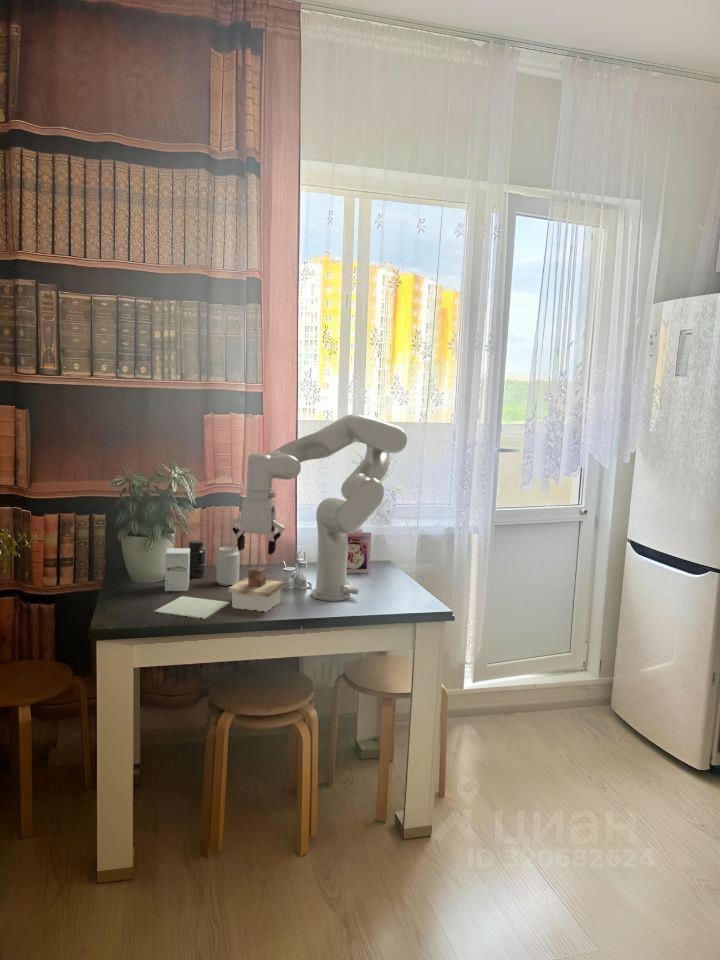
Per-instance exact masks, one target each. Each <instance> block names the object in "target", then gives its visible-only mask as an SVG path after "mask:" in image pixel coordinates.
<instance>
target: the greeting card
mask: <svg viewBox="0 0 720 960" xmlns="http://www.w3.org/2000/svg"><path fill="white" fill-rule="evenodd" d="M347 537H348V550H347V573H346V574H370V567H371V566H370V565H371V549H372V548H371V545H372V544H371V543H372V532H368V531H367V532H363V528H359V529H357V530H356V531H355V532H353V533H349V534H347Z"/></svg>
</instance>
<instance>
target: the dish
mask: <svg viewBox="0 0 720 960" xmlns="http://www.w3.org/2000/svg"><path fill="white" fill-rule="evenodd" d="M231 593H232V592H231ZM280 602H281V589H279V590H278V591H277V592H275V593H274V594H272V595H271V596H270V597H264V596H256V595H248V594H240V593H232V595H231V608H232V607H233V608H232V609H239V610H245V609H247V610H246V611H253V610H257V611H256V612H261V611H264V612H263V613H267V612H269V611H270V610H272V609H273V608H274V607H275V606H277V605H278V604H279V603H280ZM276 604H277V605H276ZM273 606H274V607H273ZM272 607H273V608H272ZM268 610H269V611H268Z"/></svg>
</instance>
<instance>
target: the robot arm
mask: <svg viewBox="0 0 720 960" xmlns="http://www.w3.org/2000/svg"><path fill="white" fill-rule="evenodd" d="M353 443H361V444H364V445H366V453H365V456H364V458H363V460H362V461H361V462H360V464H358V466H356V468H355V469H354V470H353V471H352V472H351V473H350V475H349V476H348V477H347V478H346V479H345V480H344V481H343V483H342V485H341V487H340V492H341V495H342V497H343V498H344V499H345V500H343V499H339V498H336V497H327V498H325V499H323V500H322V501H321V502H319V504H318V506H317V509H316V515H315V516H316V526H317V553H316V554H317V560H316V582H315V583H316V584H315V588H314V589H312V590H311V592H310V595H311V597H312V598H314V599H316V600H320V601H326V602H339V601H344V600H348V599H349V598H351V594H352V595H358V594H359V588H358V587H357V586H352V585H350V584H349V581H348V580H347V574H348V573H347V550H348V537H347V534H349V533H353V532H355V531H356V530H358V529H361V527H362V526H363V524H365V522H366V521H367V520H368V519H369V518H370V517H371V515H372V514H373V513H375V511H376V510H377V508H378V507H379V506H380V505H381V503H382V500H383V499H384V494H385V489H384V486H383V483H382V482H381V481H382V479H383V478H384V477H385V475H386V473H387V472H388V471H389V468H390V466H389V465H390V454H398V453H400V452H402V451H403V450H404V449H405V448H406V446H407V443H408V437H407V433H406V432H405V430H404V429H402V427H400V426H398V425H394V424H391V423H388V422H385V421H383V420H379V419H376V418H374V417H372V416H368V415H363V414H357V413H356V414H354V413H352V414H348V415H345V416H343V417H341V418H339V419H338V420H336V421H334V422H332V423H330V424H328V425H326V426H325V427H323V428H321V429H319V430H317V431H316V432H313V433H310V434H308V435H305V436H302V437H300V438H297V439H294V440H291V441H290V442H287V443H285V444H283V445H282V446H279V447H278V448H276V449H274V450H272V451H271V452H269V454H267V453H252V454H250V455H248V457H247V469H246V470H247V471H246V488H245V489H246V491H245V498H243V502H242V505H241V511H240V516H239V517H238V518H236V519H233V520H231V521H230V522H229V524H230V527H231V529H232V532H233V533H234V534H235V537H236V538H237V541H236V542H237V544H236V548H238V552H240V551H242V550H244V549H245V545H246V543H245V541H246V537H245V535H244V534H246V533H248V534H249V533H250V534H258V535H267V537H268V539H269V541H268V548H267V554H268V555H272V554H274V553H275V552H276V547H277V546H276V545H277V540H278V539H279V538H280V537H282V534H284V532H285V530H286V527H285V526H284V525H283V524H281V523H279V521H277V520H276V519H277V517H276V505H275V501H274V499H273V498H276V497H277V494H276V493H274V492H273V479H278V480H279V479H280V480H286V481H287V480H292V479H295V478H296V477H298V475H299V474H301V469H302V467H301V463H302V462H306V461H311V460H319V459H326V458H329V457H331V456H332V455H334V454H336V453H338V452H339V451H341V450H343V449H344V448H346V447H348V446H350V445H352V444H353ZM272 499H273V500H272ZM238 523H239V527H238V526H237V524H238ZM276 529H278V531H277V533H275V532H276Z"/></svg>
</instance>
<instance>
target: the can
mask: <svg viewBox="0 0 720 960" xmlns="http://www.w3.org/2000/svg"><path fill="white" fill-rule="evenodd" d="M240 556H241V555H240V551H238V547H237V546H236V547H235V546H222V547H221V546H220V547H219V548H218V551H217V552H216V577H215V582H217V584H218V585H220V586H223V585H224V587H225V586H226V587H229V586H228V585H234V584H236V583H237V582H239V581H240V559H241V558H240Z"/></svg>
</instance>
